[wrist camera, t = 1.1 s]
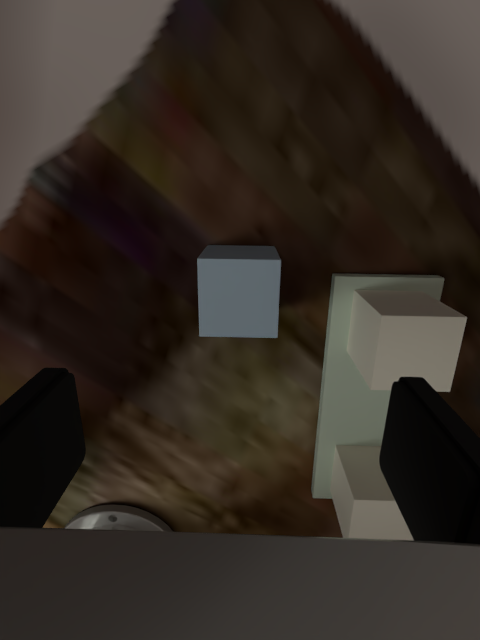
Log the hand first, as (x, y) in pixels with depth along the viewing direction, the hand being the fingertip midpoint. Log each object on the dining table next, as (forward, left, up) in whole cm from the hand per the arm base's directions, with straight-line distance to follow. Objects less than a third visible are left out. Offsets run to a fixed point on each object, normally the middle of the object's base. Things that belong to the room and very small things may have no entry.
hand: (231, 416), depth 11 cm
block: (0, 0, -19) cm, 19 cm away
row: (-10, -11, -18) cm, 24 cm away
